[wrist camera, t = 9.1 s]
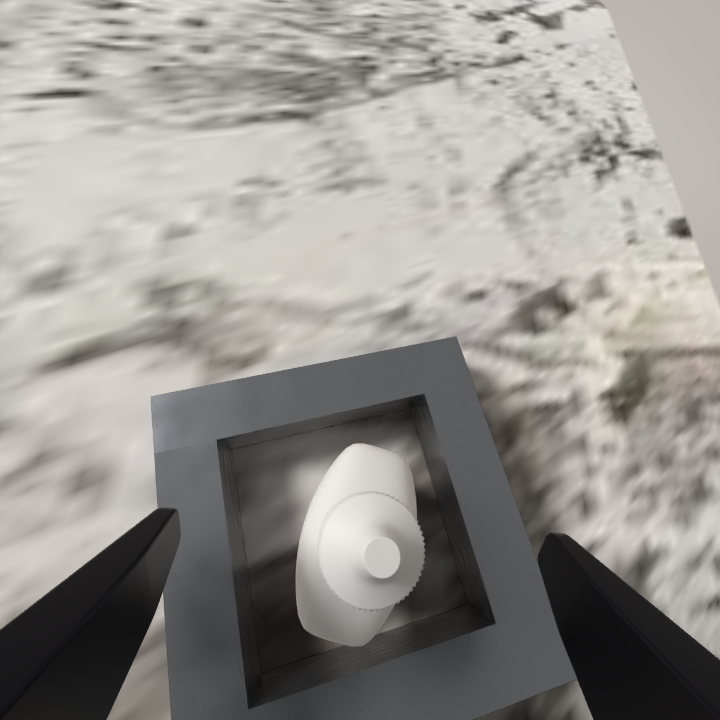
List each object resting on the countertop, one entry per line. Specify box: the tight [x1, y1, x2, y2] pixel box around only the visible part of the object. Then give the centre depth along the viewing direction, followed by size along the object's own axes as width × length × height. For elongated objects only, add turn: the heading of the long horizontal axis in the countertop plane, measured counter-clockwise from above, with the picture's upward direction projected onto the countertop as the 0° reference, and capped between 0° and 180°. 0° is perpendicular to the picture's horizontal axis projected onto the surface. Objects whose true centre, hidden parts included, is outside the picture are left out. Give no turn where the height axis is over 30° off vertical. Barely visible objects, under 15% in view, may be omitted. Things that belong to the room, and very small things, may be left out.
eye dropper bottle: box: [296, 443, 425, 647], centre depth 13 cm, size 4×6×12 cm
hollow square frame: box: [151, 337, 577, 720], centre depth 17 cm, size 14×14×3 cm
